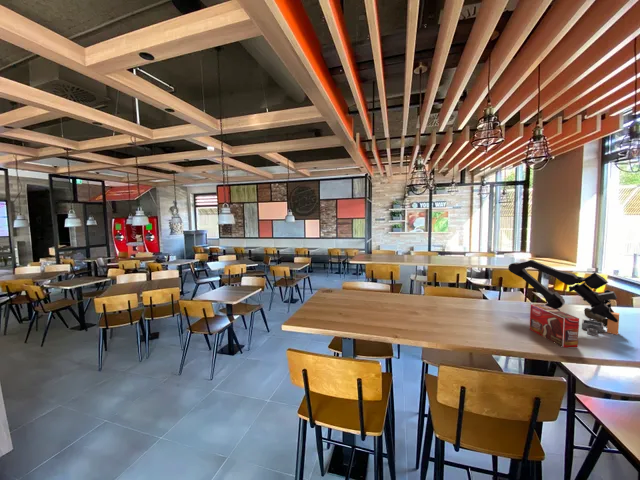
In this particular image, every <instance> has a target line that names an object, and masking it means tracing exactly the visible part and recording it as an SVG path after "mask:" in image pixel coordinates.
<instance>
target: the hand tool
mask: <svg viewBox="0 0 640 480" xmlns="http://www.w3.org/2000/svg"><path fill="white" fill-rule="evenodd" d="M583 312H584V315H585V316H586V317H587V318H590V319H595V320H596V322H600V323H603V326H606V327H607V323H608V319H607V318H605V317H603V316H600V315H598V314H595V315H594V314H593V313H592V312H591V308H589V307H585V308H584V310H583Z"/></svg>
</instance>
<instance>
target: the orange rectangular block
mask: <svg viewBox="0 0 640 480" xmlns="http://www.w3.org/2000/svg"><path fill="white" fill-rule="evenodd" d="M611 313H612V314H613V315H614V317H615V318H616V319H617V320H618V322H614V321H612V320H610V319H608V323H607V326H606V327H607V328H606V333H608V334H613V335H616V336H618V335H619V328H620V325H619V324H620V312H611Z"/></svg>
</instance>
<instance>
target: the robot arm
mask: <svg viewBox="0 0 640 480" xmlns="http://www.w3.org/2000/svg"><path fill="white" fill-rule="evenodd" d="M527 268H532V269H534V270H537V271H539V272H542V273H544V274H547V275H549V276H551V277H554V278H555V279H557V280H558V281H560V282H561V283H563V284H565V285H566V286H568V292H570V293H571V292H573V291H574V292H575V293H577V295H579V296H580V297H581V298H582V301H584V302H586V303H588V304H589V305H590V307H591V308H590V309H591V312H592V313H593V314H594V315H595V314H598V315H600V316H603V317H605V318H607V319H610V320H612V321H614V322H618V320H617V319H616V318H615V317H614V315H613V314H612V313H611V312H614V310H613V309H612V303H611V300H613V301H614V300H616V299H618V296H617V295H616V292H615V291H611V290H610V289H605V290H604V292H602V293H598V292H597V291H594V290H593V289H595V290H597V289H599V288H602V287H603V286H605V285H607V284H608V283H609V281H607V279H605V278H604V276H601V275H600V274H598V273H596V272H593V273H591V275H588V276H586V277H583V276H578V275H577V274H575V273H573V272H567V271H564V270H563V271H562V270H558V269H557V268H553V267H551V266H548V265H546V264H543V263H540V262H538V261H536V260H534V259H529V260H527V261H523V262H513V263H510V264H509V265H508V271H509V272H510V273H512V274H514V275H515V276H518V277H520V278H522V279H523V280H524V281H525V282H526V283H527V284H528V285H529V286H530V287H532V288H533V289H534V290H535V291H537V292H538V293H539V294H540V295H541V296H542V297H543V298H544V300H545V301H546V304H544V305H546V306H549V307H551V308H554V309H556V310H559V311H561V309H560V308H562V307H563V306H564V305H565V304H566V300H565V299H564V296H562V295H561V294H560V293H558V291H555V292H553V291H551V290H550V289H548V288H547V287H546V286H544V285H543V284H542V283H541V282H539V281H538V280H537V279H536V278H535V277H534V276H533V275H531V274H530V273H529V272H528V271H527Z"/></svg>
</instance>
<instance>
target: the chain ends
mask: <svg viewBox="0 0 640 480" xmlns="http://www.w3.org/2000/svg"><path fill="white" fill-rule="evenodd" d="M581 321H582V322H581V329H583V330H586V334H587V335H591V336H592V335H593V336H596V337H598V333H602V334H604V325H603V323H600V322H598V321H597V320H595V319H593V318H588V319H585V318H584V319H583V318H582V320H581Z"/></svg>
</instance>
